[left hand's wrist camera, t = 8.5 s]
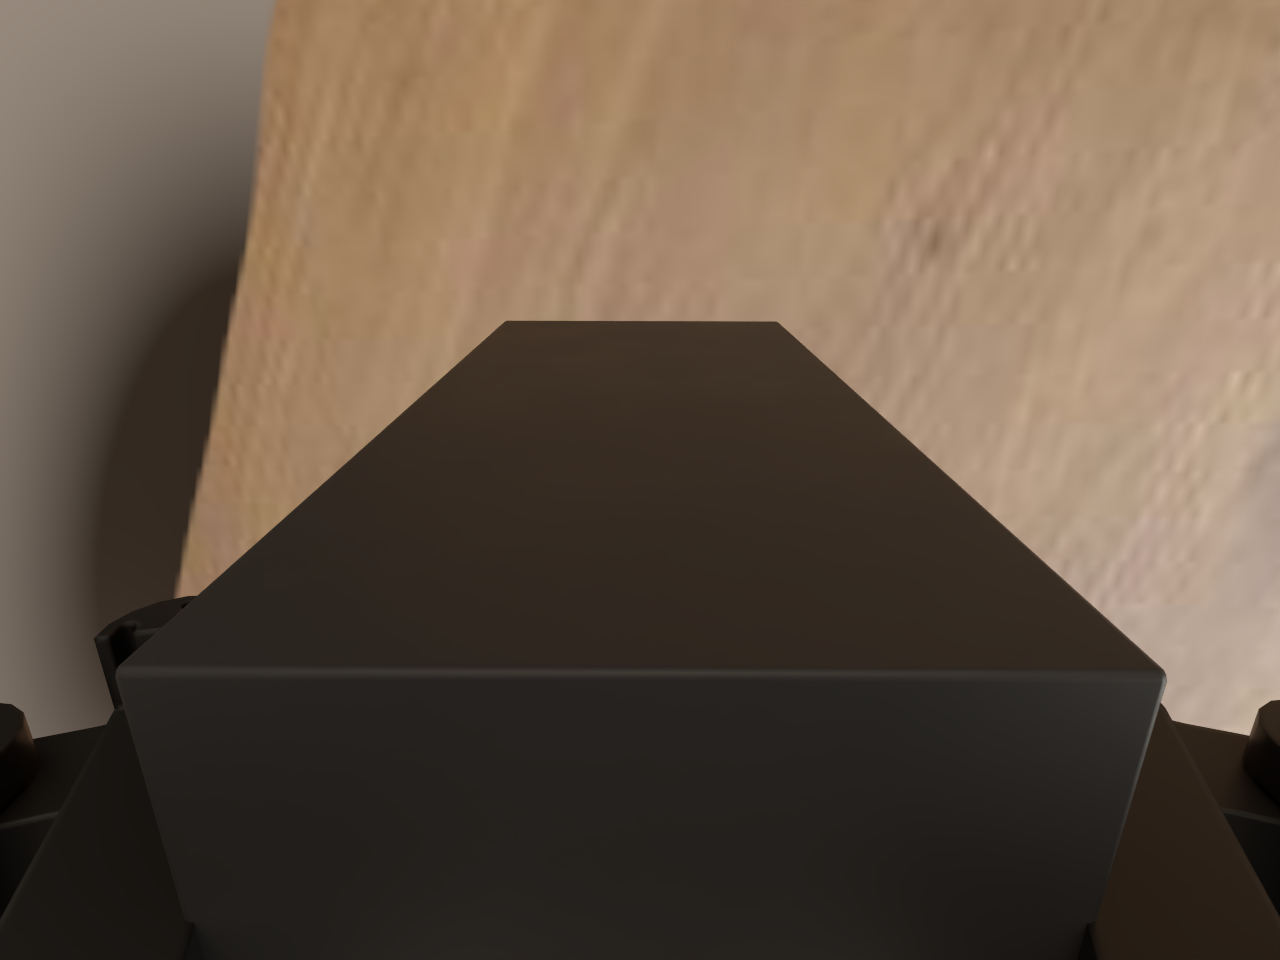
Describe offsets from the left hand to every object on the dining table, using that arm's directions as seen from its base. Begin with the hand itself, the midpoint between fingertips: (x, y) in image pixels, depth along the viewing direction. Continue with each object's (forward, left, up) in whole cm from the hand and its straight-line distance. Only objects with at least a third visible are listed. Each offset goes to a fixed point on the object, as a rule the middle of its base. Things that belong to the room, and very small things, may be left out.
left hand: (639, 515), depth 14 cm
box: (+9, +5, -3) cm, 11 cm away
